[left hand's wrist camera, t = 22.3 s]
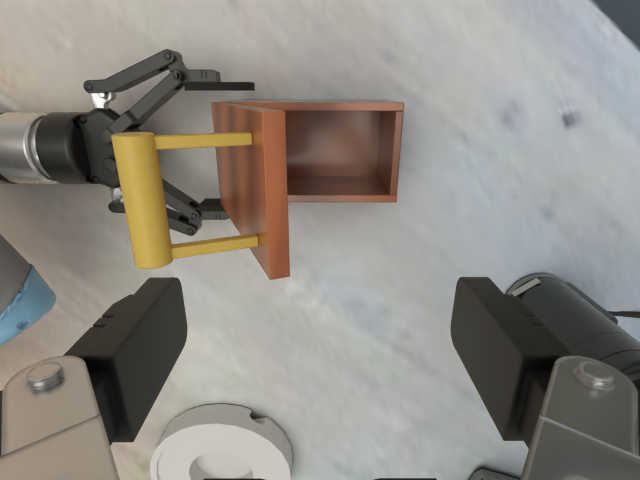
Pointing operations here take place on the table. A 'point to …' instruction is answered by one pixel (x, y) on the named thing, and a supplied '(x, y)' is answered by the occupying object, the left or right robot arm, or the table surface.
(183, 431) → the ashtray
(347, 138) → the chest
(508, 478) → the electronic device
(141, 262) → the lid
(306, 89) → the table surface
